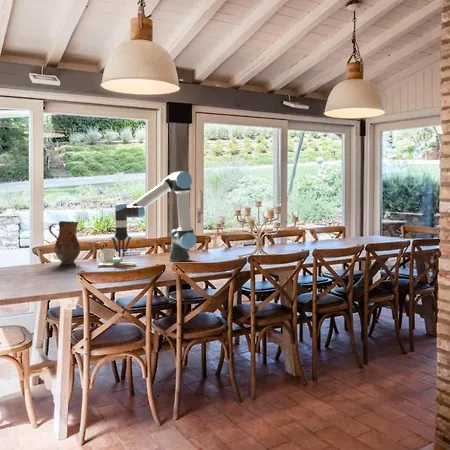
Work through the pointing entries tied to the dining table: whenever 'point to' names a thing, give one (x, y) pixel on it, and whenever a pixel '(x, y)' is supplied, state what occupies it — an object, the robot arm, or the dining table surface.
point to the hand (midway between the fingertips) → (121, 261)
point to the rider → (116, 260)
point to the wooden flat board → (116, 265)
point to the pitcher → (67, 243)
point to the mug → (107, 255)
